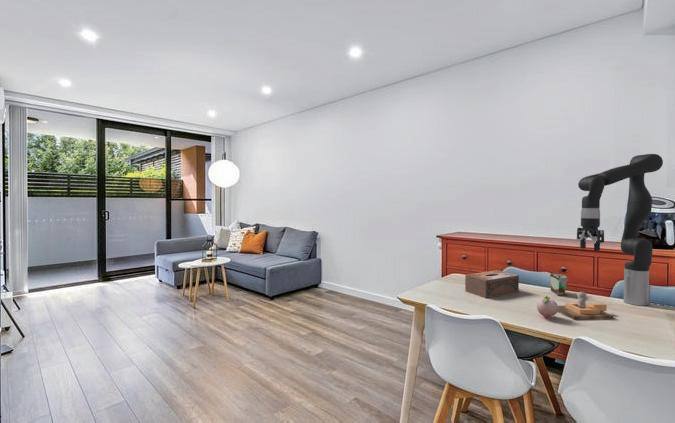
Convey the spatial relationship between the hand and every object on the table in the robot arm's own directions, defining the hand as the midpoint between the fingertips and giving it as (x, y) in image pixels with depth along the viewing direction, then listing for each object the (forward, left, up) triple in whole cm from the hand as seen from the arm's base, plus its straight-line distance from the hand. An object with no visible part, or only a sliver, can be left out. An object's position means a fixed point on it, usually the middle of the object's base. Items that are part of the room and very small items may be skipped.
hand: (589, 249), depth 162 cm
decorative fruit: (+31, +15, -28) cm, 45 cm away
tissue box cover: (+36, -26, -29) cm, 53 cm away
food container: (0, -20, -28) cm, 35 cm away
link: (+9, +11, -27) cm, 30 cm away
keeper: (+12, +11, -28) cm, 32 cm away
